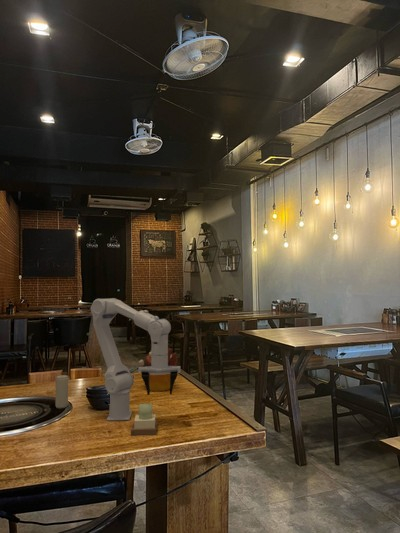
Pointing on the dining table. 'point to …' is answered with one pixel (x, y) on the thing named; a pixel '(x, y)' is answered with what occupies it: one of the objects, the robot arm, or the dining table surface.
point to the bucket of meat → (160, 379)
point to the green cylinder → (145, 411)
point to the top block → (144, 422)
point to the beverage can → (61, 391)
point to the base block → (144, 431)
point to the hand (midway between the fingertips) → (159, 393)
